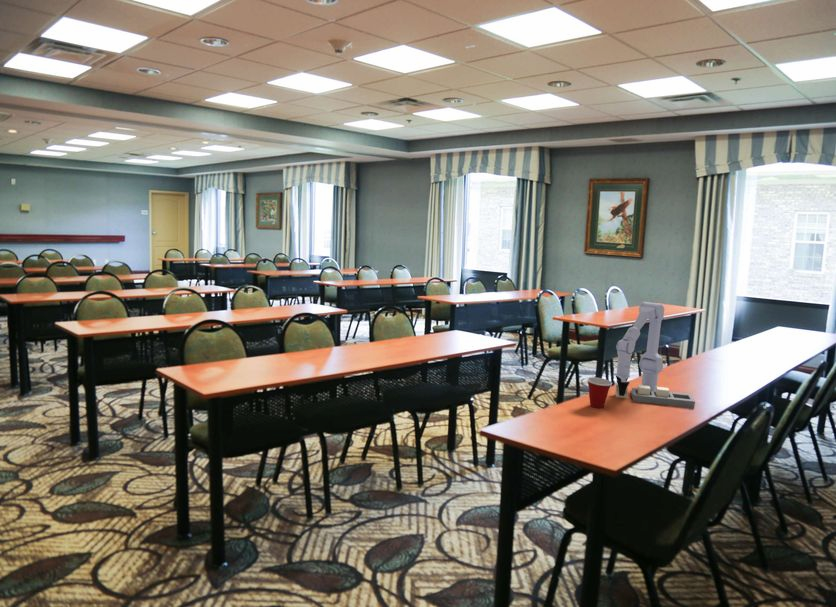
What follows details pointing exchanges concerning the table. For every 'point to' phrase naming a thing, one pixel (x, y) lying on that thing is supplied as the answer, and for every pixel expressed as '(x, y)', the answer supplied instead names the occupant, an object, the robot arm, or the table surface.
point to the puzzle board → (661, 396)
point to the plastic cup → (598, 391)
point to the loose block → (618, 392)
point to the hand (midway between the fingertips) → (621, 393)
